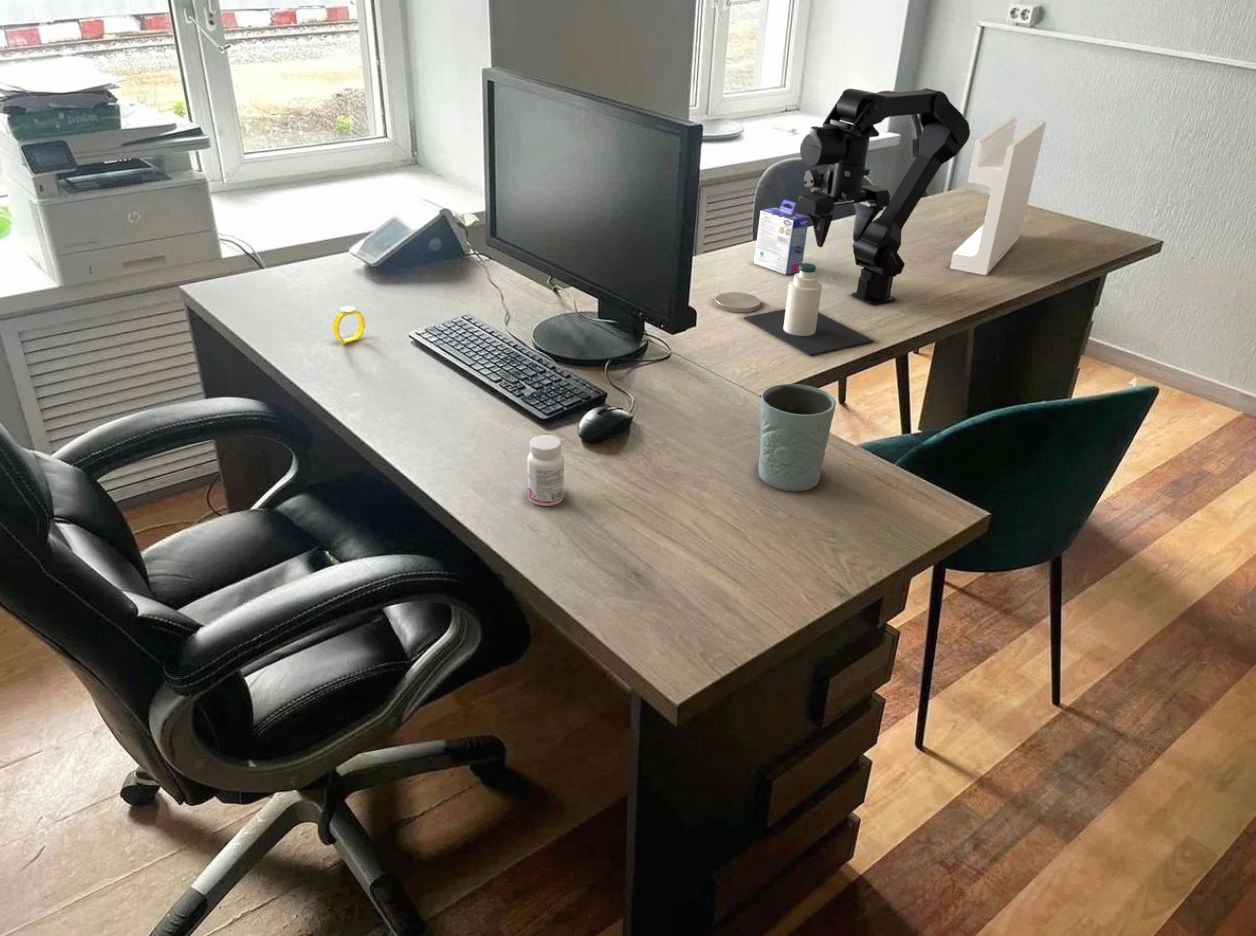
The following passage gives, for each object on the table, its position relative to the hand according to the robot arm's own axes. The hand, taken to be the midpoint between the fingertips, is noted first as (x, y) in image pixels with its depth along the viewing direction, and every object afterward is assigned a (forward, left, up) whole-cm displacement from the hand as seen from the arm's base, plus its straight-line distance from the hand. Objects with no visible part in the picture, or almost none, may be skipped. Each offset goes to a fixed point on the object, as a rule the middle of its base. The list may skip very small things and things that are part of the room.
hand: (837, 243), depth 195 cm
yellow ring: (+90, -23, -13) cm, 94 cm away
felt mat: (+12, +8, -13) cm, 19 cm away
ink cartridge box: (-6, -24, -13) cm, 28 cm away
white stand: (-59, -13, -13) cm, 62 cm away
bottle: (+14, +8, -13) cm, 20 cm away
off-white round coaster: (+16, -9, -13) cm, 23 cm away
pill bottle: (+83, +40, -13) cm, 93 cm away
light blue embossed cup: (+50, +50, -13) cm, 72 cm away
